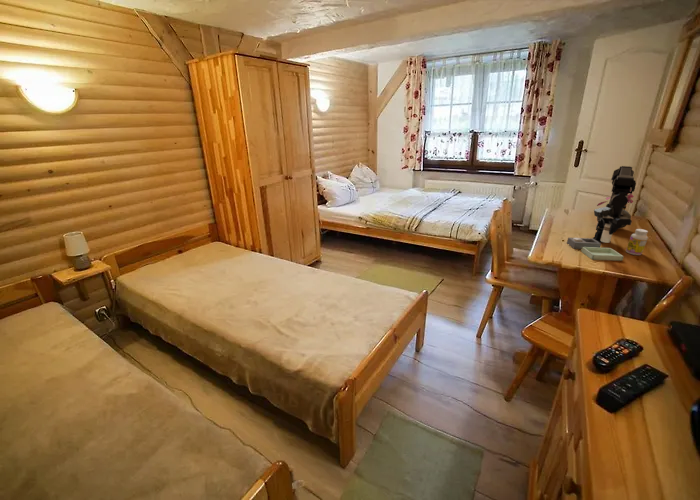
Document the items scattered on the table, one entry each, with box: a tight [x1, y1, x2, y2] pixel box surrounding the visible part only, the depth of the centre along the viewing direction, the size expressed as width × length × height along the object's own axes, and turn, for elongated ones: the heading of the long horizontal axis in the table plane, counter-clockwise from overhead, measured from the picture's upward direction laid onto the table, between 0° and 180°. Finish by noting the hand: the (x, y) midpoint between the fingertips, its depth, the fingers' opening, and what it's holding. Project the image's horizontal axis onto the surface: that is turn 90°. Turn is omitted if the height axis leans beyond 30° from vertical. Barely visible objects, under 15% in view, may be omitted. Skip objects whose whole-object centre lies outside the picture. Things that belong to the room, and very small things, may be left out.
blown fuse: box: [600, 223, 613, 244], centre depth 162 cm, size 4×4×9 cm
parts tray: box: [580, 247, 625, 262], centre depth 166 cm, size 14×11×2 cm
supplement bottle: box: [625, 228, 649, 256], centre depth 167 cm, size 7×7×13 cm
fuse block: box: [566, 237, 602, 250], centre depth 178 cm, size 13×8×4 cm, turn 82°
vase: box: [596, 189, 634, 230], centre depth 200 cm, size 17×18×30 cm
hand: (607, 233), depth 162 cm, fingers closed on blown fuse, 4 cm apart
